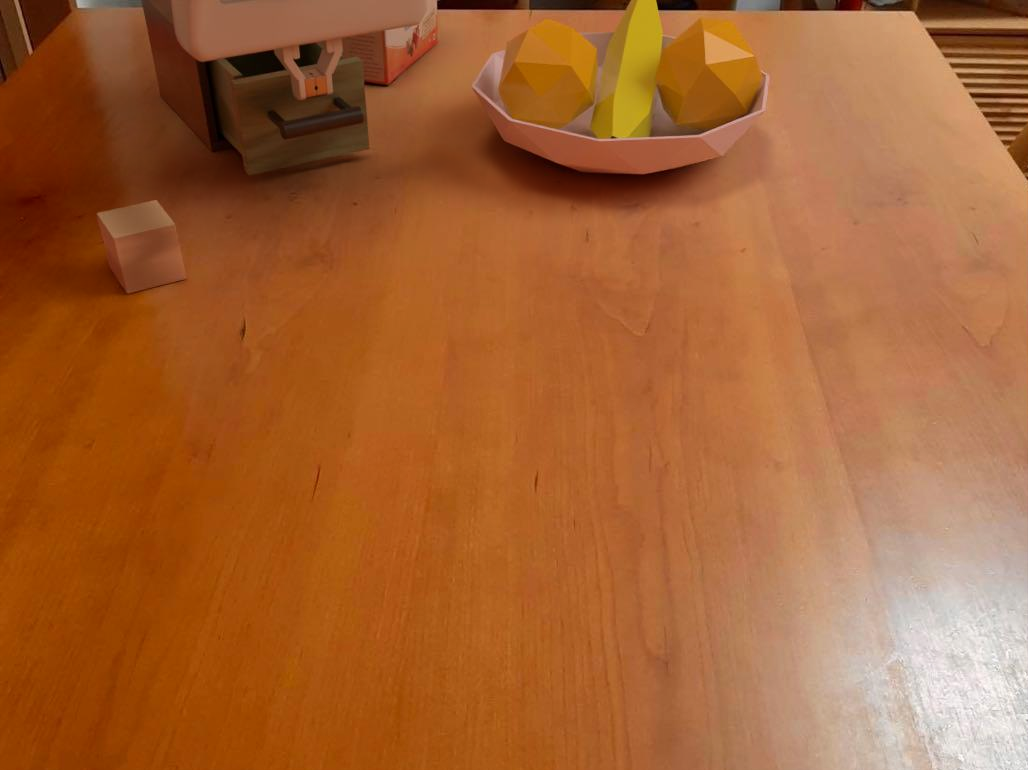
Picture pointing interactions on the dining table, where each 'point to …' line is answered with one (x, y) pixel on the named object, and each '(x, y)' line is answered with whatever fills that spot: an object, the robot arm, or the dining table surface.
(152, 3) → the cabinet
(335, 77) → the drawer
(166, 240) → the block
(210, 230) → the dining table surface
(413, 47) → the cracker box
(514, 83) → the fruit bowl
